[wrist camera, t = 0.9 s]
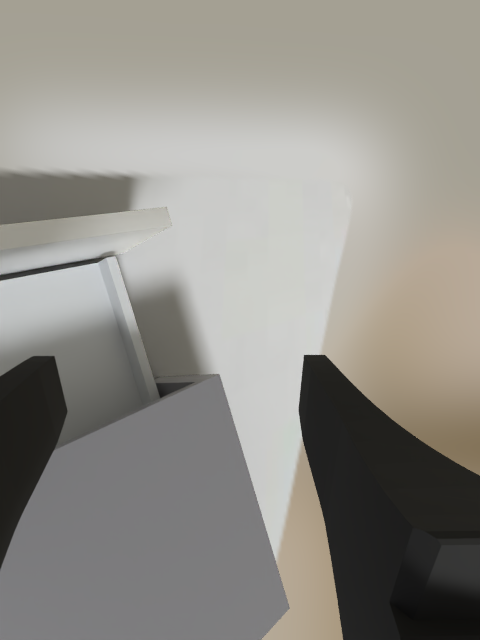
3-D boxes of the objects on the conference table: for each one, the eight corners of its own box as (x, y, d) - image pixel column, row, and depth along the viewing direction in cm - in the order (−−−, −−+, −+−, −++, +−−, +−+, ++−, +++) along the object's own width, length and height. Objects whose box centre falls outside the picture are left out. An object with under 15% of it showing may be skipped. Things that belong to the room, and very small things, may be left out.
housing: (-27, 785, 19) (3, 923, 14) (-136, 500, 18) (-143, 541, 13) (220, 570, 29) (289, 608, 24) (159, 376, 28) (219, 373, 23)
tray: (-101, 593, 18) (-96, 662, 14) (-217, 288, 17) (-253, 251, 12) (181, 438, 28) (239, 447, 23) (118, 238, 27) (166, 207, 22)
